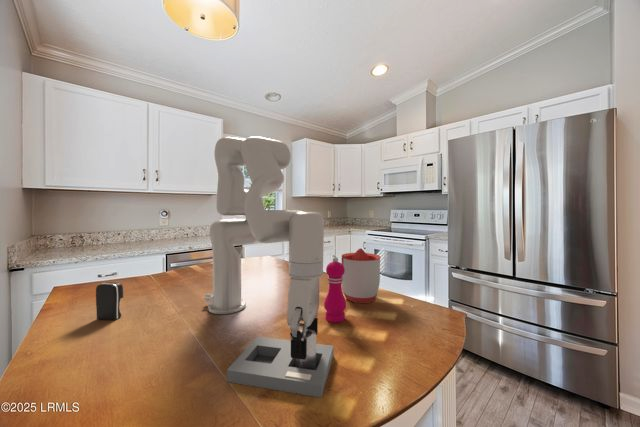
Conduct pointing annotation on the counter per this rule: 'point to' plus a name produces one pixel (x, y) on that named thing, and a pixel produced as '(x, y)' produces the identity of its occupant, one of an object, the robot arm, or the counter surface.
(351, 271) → the citrus juicer
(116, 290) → the battery charger
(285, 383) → the block
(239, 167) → the robot arm
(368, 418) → the counter surface
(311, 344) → the bushing
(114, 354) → the counter surface
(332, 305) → the pepper mill
